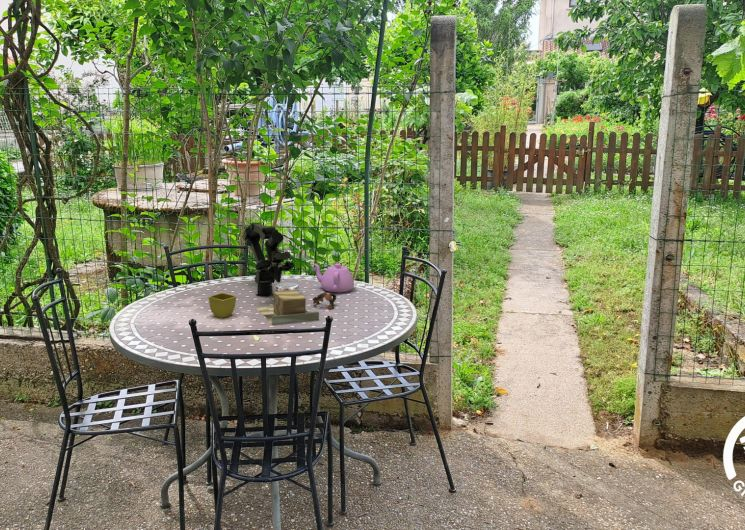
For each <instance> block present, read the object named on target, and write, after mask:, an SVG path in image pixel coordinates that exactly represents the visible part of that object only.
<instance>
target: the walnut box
mask: <svg viewBox="0 0 745 530" xmlns="http://www.w3.org/2000/svg"><path fill="white" fill-rule="evenodd" d="M306 300H307V298H306V297H305V296H304V295H303V294H301V293H300V292H298V291H297V290H296V289H288V290H287V289H286V290H274V291H273V306H274V314H275V315H276V316H279V315H289V314H299V313H305V309H306V307H307V306H306Z"/></svg>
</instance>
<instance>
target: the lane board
mask: <svg viewBox="0 0 745 530" xmlns="http://www.w3.org/2000/svg"><path fill="white" fill-rule="evenodd" d="M255 309H256V310H257V311H258V312H259V313H260V314H261V315H262V316H263V317H264V319H266V320H267V321H268V322H269V324H271V325H272V326H275V325H276V326H277V325H286V324H294V323H304V322H314V321H319V319H320V312H319V311H308V310H307V309H306V308H305V313H299V314H289V315H279V316H276V315H275V314H274V305H272V306H271V305H270V306H269V305H267V306H260V307H255Z"/></svg>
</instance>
